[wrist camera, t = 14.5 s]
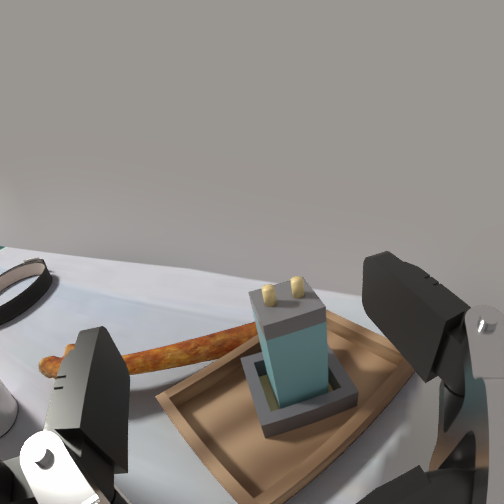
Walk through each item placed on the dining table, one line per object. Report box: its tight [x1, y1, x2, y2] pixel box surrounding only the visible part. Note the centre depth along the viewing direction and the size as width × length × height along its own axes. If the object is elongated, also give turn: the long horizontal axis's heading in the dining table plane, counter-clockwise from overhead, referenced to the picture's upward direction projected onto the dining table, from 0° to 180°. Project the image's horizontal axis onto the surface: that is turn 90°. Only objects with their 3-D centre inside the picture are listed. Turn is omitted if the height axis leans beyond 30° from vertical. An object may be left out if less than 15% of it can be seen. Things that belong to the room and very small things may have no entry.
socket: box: [240, 343, 359, 438], centre depth 30 cm, size 10×10×2 cm
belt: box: [0, 257, 52, 325], centre depth 64 cm, size 29×30×5 cm
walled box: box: [155, 310, 415, 504], centre depth 29 cm, size 17×23×2 cm
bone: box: [39, 322, 258, 379], centre depth 36 cm, size 33×8×10 cm, turn 96°
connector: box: [249, 276, 328, 409], centre depth 27 cm, size 5×5×14 cm
